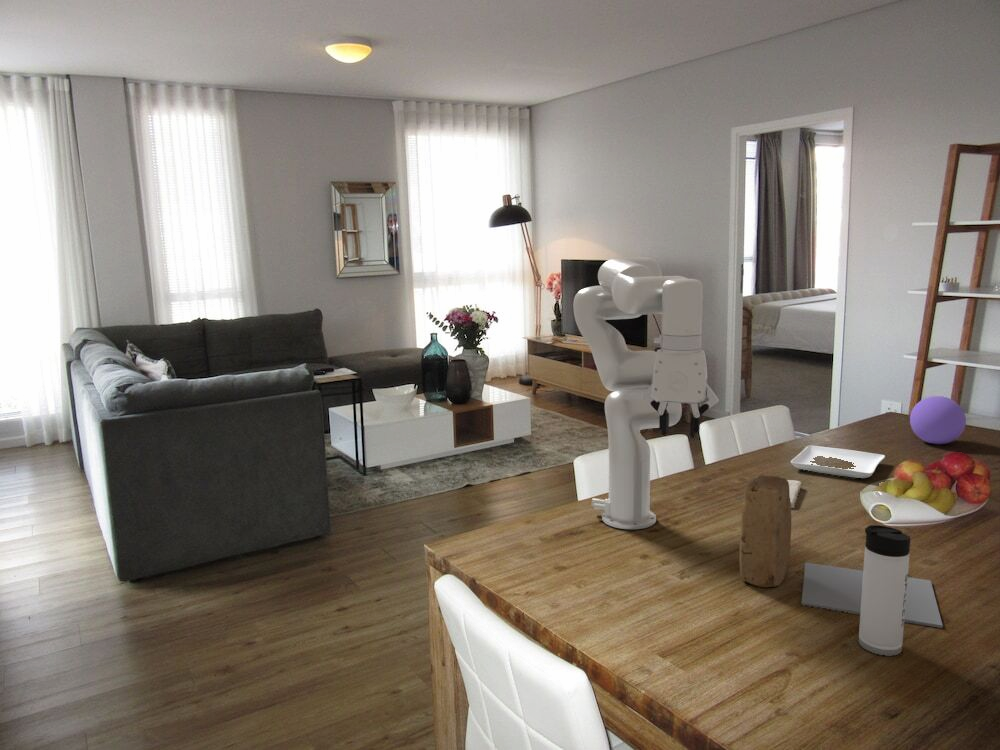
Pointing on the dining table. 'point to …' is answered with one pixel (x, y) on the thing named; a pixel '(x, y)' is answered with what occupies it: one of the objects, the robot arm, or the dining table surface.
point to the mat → (845, 593)
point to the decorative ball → (937, 420)
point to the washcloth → (793, 490)
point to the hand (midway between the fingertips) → (679, 433)
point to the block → (765, 531)
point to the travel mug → (884, 590)
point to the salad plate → (861, 460)
